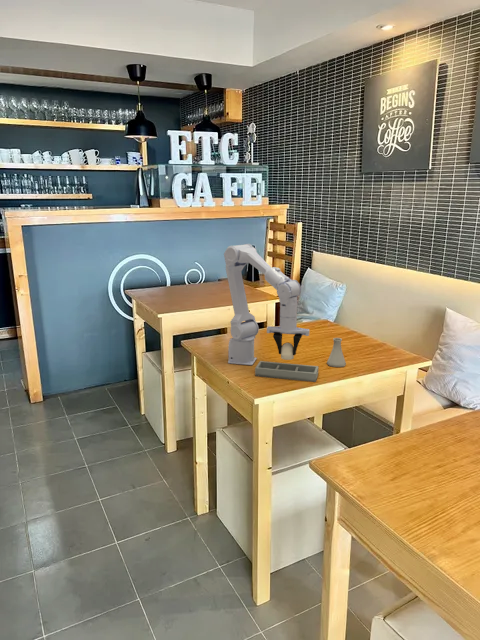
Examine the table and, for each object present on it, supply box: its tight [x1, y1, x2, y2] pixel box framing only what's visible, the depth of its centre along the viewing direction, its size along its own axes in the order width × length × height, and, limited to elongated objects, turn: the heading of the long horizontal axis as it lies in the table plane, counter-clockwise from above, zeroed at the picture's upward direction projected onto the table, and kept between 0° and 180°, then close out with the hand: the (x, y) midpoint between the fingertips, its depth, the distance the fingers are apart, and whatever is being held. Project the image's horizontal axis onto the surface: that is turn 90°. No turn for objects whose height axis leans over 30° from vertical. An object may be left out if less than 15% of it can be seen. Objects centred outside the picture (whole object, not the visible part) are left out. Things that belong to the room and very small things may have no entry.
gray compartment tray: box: [254, 360, 319, 383], centre depth 173 cm, size 21×8×3 cm, turn 75°
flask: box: [326, 337, 347, 368], centre depth 183 cm, size 7×7×10 cm
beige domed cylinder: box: [280, 342, 295, 361], centre depth 171 cm, size 4×4×5 cm
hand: (287, 353), depth 172 cm, fingers closed on beige domed cylinder, 4 cm apart
